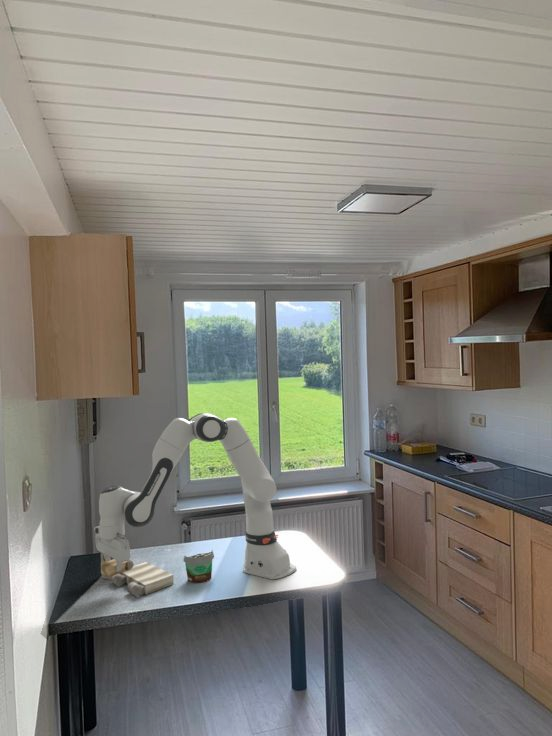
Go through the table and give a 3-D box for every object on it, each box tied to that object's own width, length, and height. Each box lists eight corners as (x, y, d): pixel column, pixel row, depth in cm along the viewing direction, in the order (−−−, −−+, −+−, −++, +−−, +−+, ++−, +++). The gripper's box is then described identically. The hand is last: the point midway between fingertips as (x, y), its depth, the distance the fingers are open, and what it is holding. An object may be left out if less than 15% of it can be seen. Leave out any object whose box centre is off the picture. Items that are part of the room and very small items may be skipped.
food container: (188, 587, 192) (188, 560, 192) (184, 581, 198) (183, 555, 198) (219, 579, 198) (218, 554, 198) (214, 574, 203) (213, 549, 203)
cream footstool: (173, 583, 196) (173, 574, 196) (135, 598, 184) (135, 588, 184) (146, 570, 210) (145, 561, 210) (109, 583, 199) (109, 573, 198)
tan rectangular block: (133, 568, 192) (133, 559, 192) (108, 577, 185) (108, 567, 185) (125, 564, 196) (125, 555, 196) (101, 572, 189) (100, 563, 189)
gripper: (134, 534, 184) (135, 572, 184) (107, 523, 199) (108, 558, 199) (117, 539, 180) (119, 578, 180) (92, 527, 194) (93, 563, 194)
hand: (113, 567), depth 189 cm, fingers closed on tan rectangular block, 6 cm apart
